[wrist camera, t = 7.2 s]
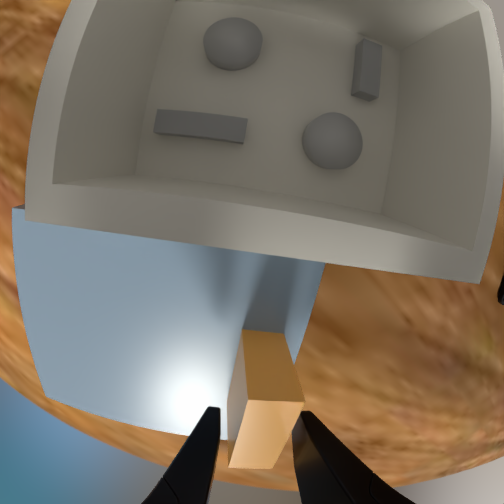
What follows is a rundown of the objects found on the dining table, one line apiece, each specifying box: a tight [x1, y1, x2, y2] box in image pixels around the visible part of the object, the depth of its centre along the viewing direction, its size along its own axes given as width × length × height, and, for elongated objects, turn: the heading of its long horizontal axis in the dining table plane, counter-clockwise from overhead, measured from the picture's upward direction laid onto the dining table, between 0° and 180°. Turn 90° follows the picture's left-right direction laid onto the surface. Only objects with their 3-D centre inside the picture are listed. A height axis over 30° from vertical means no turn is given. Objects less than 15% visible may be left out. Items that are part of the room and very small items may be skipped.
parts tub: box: [25, 0, 504, 284], centre depth 7 cm, size 11×9×6 cm
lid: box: [12, 204, 325, 469], centre depth 9 cm, size 12×10×6 cm
